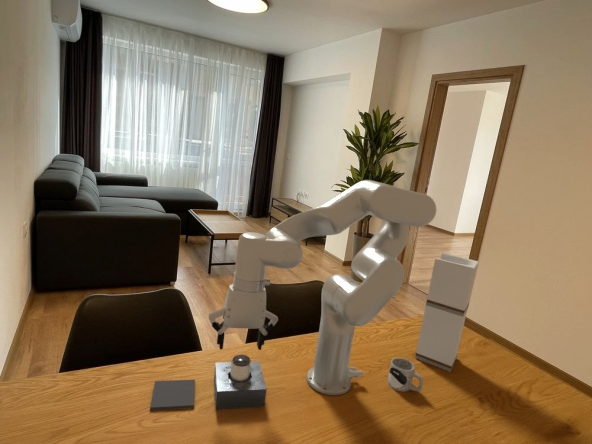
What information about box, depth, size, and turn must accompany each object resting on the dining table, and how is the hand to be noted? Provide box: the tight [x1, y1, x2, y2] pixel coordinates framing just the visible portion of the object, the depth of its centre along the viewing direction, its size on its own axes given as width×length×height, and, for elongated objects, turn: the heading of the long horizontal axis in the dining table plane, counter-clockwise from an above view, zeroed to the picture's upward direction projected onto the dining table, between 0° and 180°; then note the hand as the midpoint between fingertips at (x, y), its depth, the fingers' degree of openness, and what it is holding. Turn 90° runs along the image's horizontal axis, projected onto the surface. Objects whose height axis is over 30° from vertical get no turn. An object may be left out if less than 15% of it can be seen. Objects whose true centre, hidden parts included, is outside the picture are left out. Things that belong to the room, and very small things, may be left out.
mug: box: [387, 357, 424, 393], centre depth 110 cm, size 10×7×7 cm
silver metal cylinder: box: [230, 354, 252, 383], centre depth 98 cm, size 5×5×10 cm
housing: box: [213, 361, 268, 411], centre depth 98 cm, size 12×12×5 cm
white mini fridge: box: [414, 252, 479, 373], centre depth 125 cm, size 11×11×35 cm
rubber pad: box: [149, 379, 196, 411], centre depth 95 cm, size 10×10×1 cm
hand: (240, 346), depth 96 cm, fingers open, 9 cm apart
